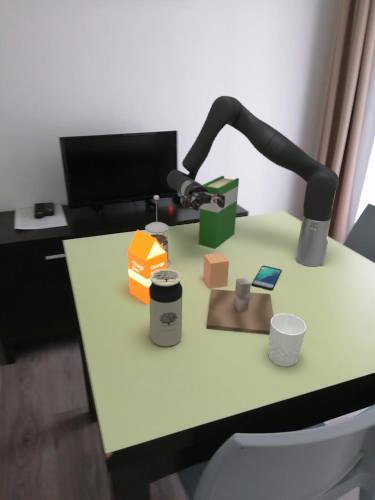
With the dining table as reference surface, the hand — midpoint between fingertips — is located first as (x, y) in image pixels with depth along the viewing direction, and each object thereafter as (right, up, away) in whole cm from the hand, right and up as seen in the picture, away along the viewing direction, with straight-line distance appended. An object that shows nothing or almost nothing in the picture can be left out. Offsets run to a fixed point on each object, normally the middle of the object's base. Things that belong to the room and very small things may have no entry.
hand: (210, 206), depth 114 cm
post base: (+8, -31, -11) cm, 34 cm away
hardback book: (+5, -9, +35) cm, 36 cm away
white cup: (+16, -40, -27) cm, 50 cm away
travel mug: (-13, -36, -21) cm, 44 cm away
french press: (-18, -18, +16) cm, 30 cm away
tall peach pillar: (+2, -24, +3) cm, 25 cm away
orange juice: (-19, -27, -3) cm, 34 cm away
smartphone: (+19, -24, +7) cm, 31 cm away
